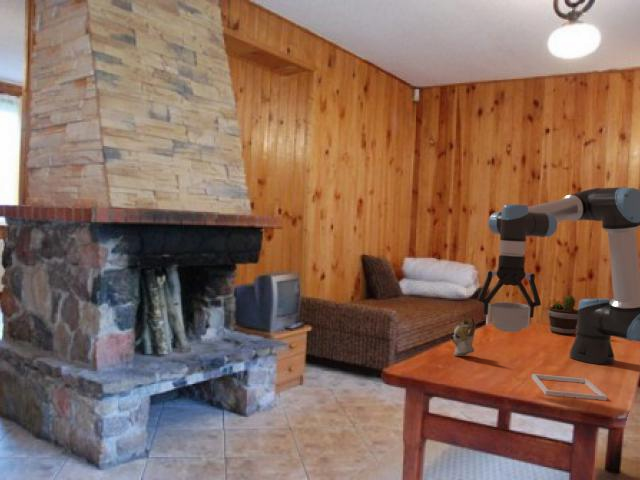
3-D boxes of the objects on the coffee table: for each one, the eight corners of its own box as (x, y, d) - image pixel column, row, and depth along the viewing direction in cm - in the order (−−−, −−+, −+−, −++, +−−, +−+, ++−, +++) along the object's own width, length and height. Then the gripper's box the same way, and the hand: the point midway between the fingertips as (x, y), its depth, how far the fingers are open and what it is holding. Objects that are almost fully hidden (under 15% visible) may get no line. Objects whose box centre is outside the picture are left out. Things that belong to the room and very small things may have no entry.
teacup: (529, 335, 164) (531, 308, 164) (491, 332, 167) (492, 305, 166) (522, 326, 178) (524, 301, 178) (487, 323, 180) (488, 299, 180)
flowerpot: (539, 329, 271) (542, 288, 271) (569, 331, 273) (572, 290, 272) (555, 336, 257) (558, 292, 256) (586, 337, 259) (589, 294, 258)
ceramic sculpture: (445, 352, 211) (448, 312, 210) (467, 353, 212) (470, 313, 211) (454, 359, 200) (457, 317, 200) (478, 360, 201) (481, 318, 200)
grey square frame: (586, 385, 178) (586, 378, 178) (606, 403, 159) (607, 396, 159) (531, 379, 180) (532, 373, 180) (545, 397, 162) (545, 390, 162)
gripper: (548, 256, 173) (544, 327, 174) (471, 252, 177) (467, 321, 178) (555, 258, 166) (550, 331, 167) (474, 253, 169) (469, 325, 170)
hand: (507, 326), depth 172 cm, fingers closed on teacup, 11 cm apart
